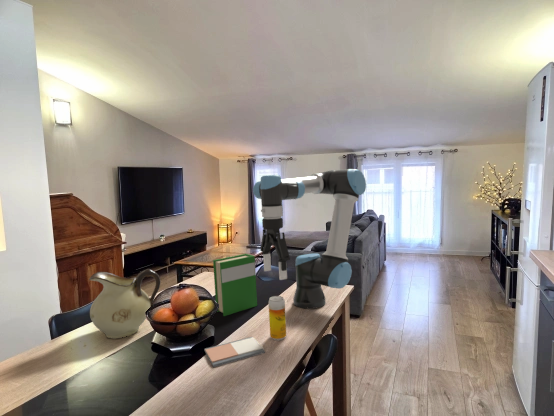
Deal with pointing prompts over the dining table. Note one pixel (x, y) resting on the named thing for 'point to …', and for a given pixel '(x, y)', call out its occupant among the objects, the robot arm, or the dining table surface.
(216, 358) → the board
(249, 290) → the hardback book
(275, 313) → the yellow bottle
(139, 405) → the dining table surface
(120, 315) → the pitcher
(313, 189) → the robot arm
